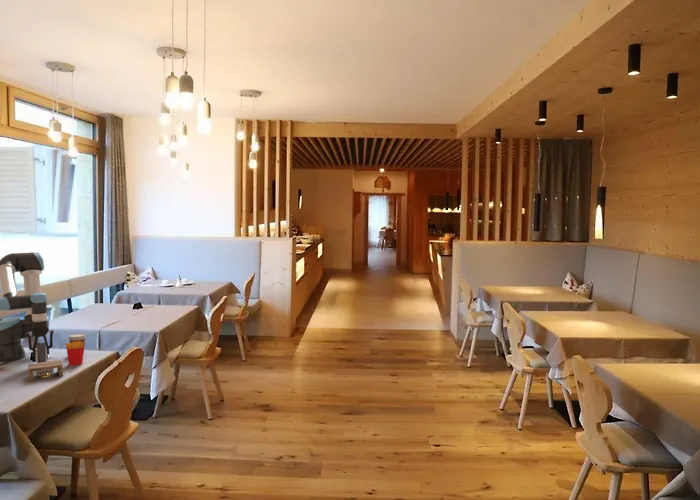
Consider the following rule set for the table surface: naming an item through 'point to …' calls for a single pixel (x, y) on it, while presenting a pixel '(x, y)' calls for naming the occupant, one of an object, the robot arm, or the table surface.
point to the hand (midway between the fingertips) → (41, 360)
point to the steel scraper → (42, 357)
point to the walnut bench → (45, 367)
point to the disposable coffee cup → (77, 338)
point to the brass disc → (45, 375)
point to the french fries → (75, 353)
